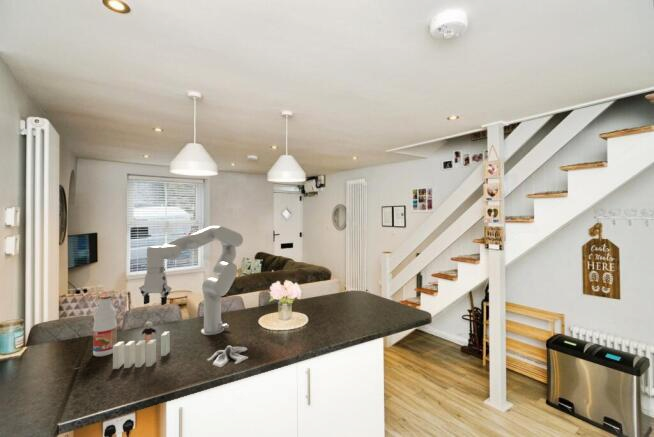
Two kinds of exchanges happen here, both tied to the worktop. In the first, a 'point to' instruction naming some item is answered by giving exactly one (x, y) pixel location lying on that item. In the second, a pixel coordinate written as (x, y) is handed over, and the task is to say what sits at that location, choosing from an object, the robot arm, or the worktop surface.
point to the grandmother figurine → (148, 332)
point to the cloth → (228, 355)
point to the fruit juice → (104, 327)
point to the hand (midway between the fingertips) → (155, 304)
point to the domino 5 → (165, 343)
